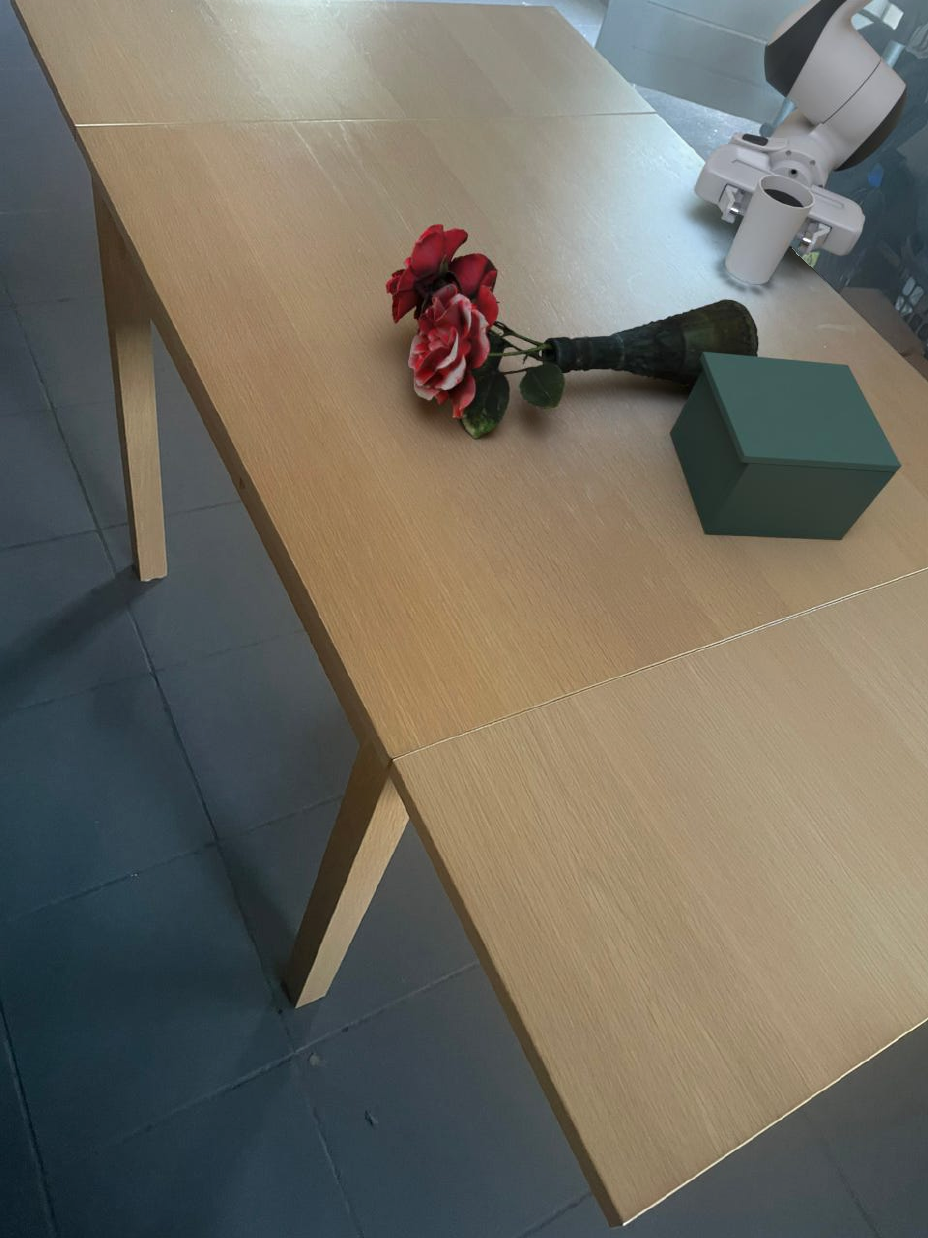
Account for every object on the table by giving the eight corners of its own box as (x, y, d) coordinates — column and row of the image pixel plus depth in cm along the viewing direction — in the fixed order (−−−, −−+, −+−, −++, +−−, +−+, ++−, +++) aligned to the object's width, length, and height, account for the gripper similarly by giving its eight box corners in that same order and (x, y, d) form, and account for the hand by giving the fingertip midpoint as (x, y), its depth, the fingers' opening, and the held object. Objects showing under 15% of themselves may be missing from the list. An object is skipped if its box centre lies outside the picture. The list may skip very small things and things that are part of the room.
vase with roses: (671, 426, 103) (377, 452, 88) (658, 254, 100) (353, 252, 86) (773, 408, 89) (443, 435, 74) (761, 208, 86) (417, 196, 72)
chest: (704, 534, 83) (749, 463, 76) (669, 432, 90) (707, 359, 83) (841, 540, 86) (896, 472, 79) (796, 441, 93) (843, 371, 86)
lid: (740, 462, 75) (745, 455, 75) (699, 358, 83) (702, 351, 82) (896, 472, 79) (902, 465, 78) (843, 371, 86) (848, 364, 85)
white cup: (778, 290, 109) (821, 213, 101) (726, 281, 108) (765, 201, 100) (767, 258, 113) (807, 180, 105) (717, 248, 112) (753, 169, 104)
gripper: (852, 237, 116) (837, 290, 108) (703, 174, 118) (676, 222, 109) (880, 190, 111) (867, 241, 103) (723, 125, 113) (698, 171, 104)
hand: (767, 231), depth 106 cm, fingers open, 8 cm apart
